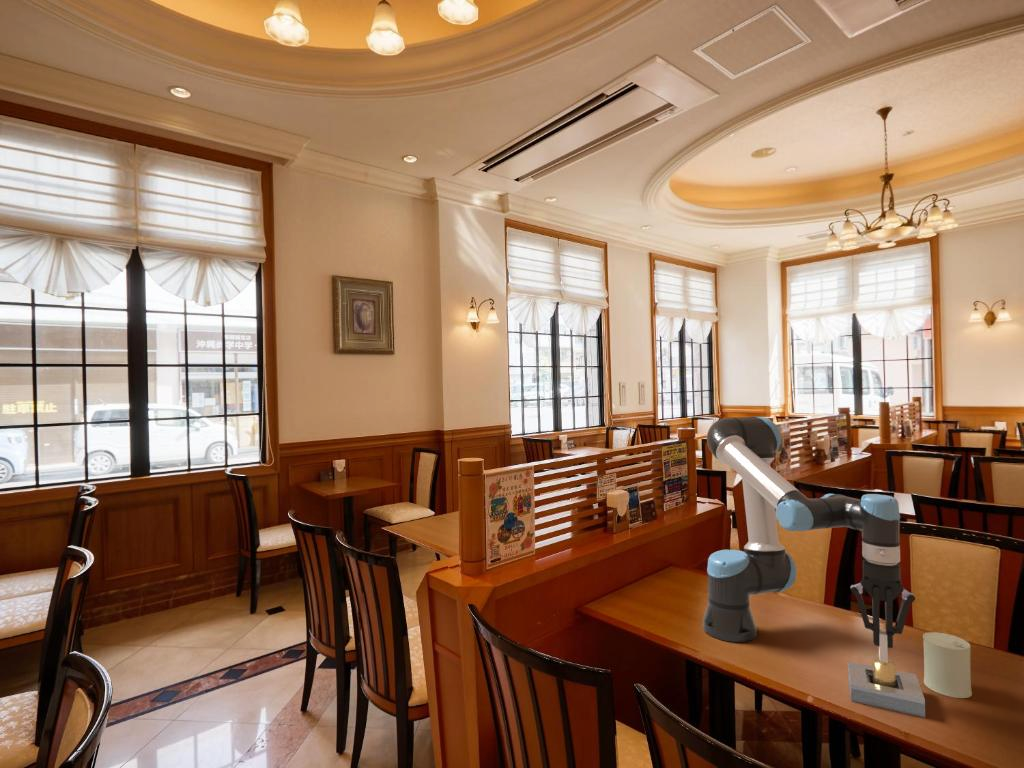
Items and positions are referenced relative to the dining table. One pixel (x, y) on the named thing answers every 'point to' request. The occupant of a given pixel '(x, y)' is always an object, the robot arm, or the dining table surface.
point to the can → (947, 665)
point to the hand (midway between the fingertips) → (883, 659)
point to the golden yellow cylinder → (884, 673)
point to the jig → (886, 690)
